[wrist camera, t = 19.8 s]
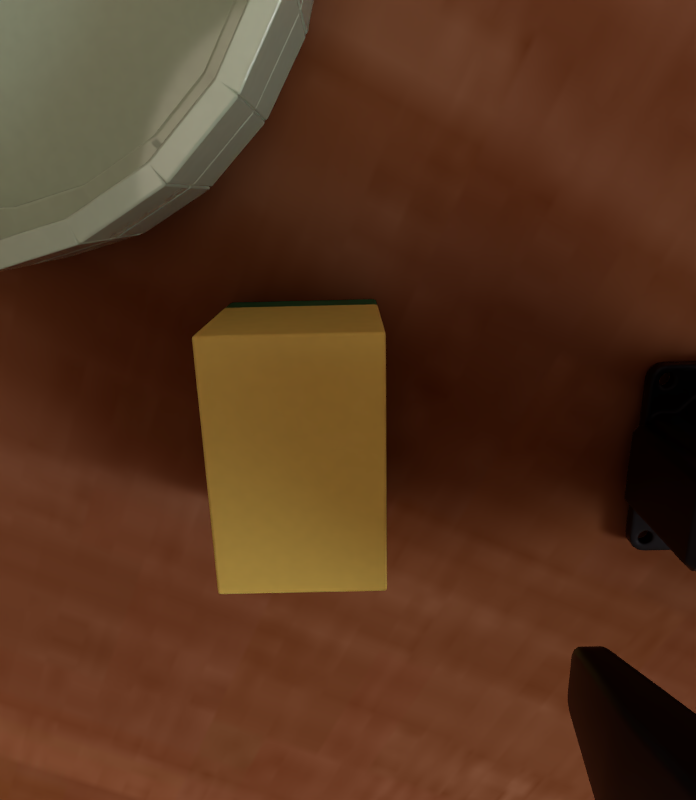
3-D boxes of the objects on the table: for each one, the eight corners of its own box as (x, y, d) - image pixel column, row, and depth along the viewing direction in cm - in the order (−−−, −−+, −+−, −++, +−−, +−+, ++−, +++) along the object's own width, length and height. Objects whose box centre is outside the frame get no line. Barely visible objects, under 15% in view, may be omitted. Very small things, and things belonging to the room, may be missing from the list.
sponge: (376, 298, 19) (385, 332, 14) (378, 503, 21) (386, 591, 16) (230, 302, 19) (190, 336, 14) (246, 506, 21) (217, 595, 16)
